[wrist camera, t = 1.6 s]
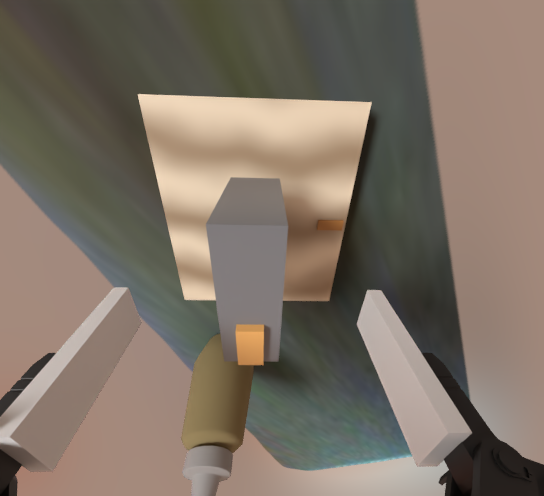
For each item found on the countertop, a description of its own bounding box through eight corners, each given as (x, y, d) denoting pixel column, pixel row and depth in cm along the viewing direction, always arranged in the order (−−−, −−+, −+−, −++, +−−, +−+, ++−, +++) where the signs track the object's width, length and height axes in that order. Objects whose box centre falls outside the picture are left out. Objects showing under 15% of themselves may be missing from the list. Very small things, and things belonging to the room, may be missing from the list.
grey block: (230, 177, 17) (202, 229, 10) (279, 178, 17) (289, 231, 10) (237, 282, 22) (222, 368, 15) (275, 283, 22) (278, 368, 15)
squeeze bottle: (249, 363, 37) (236, 545, 22) (198, 356, 36) (146, 543, 20) (260, 331, 33) (255, 526, 18) (204, 322, 32) (144, 523, 16)
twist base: (149, 95, 18) (118, 92, 14) (361, 102, 19) (386, 101, 15) (189, 288, 28) (177, 316, 25) (325, 289, 29) (334, 317, 25)
